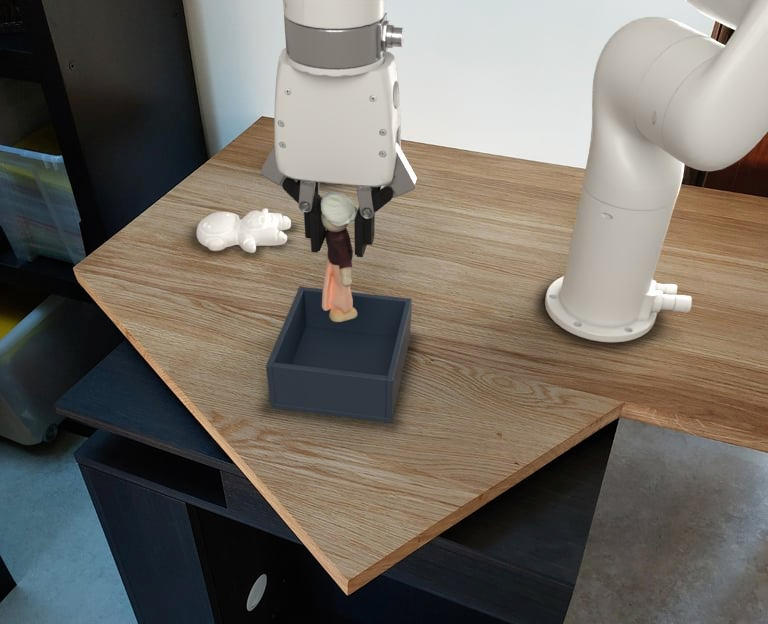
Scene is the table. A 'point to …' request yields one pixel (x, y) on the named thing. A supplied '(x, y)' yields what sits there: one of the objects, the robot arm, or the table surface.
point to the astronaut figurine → (243, 230)
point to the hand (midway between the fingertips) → (340, 245)
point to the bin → (341, 357)
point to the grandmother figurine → (338, 256)
